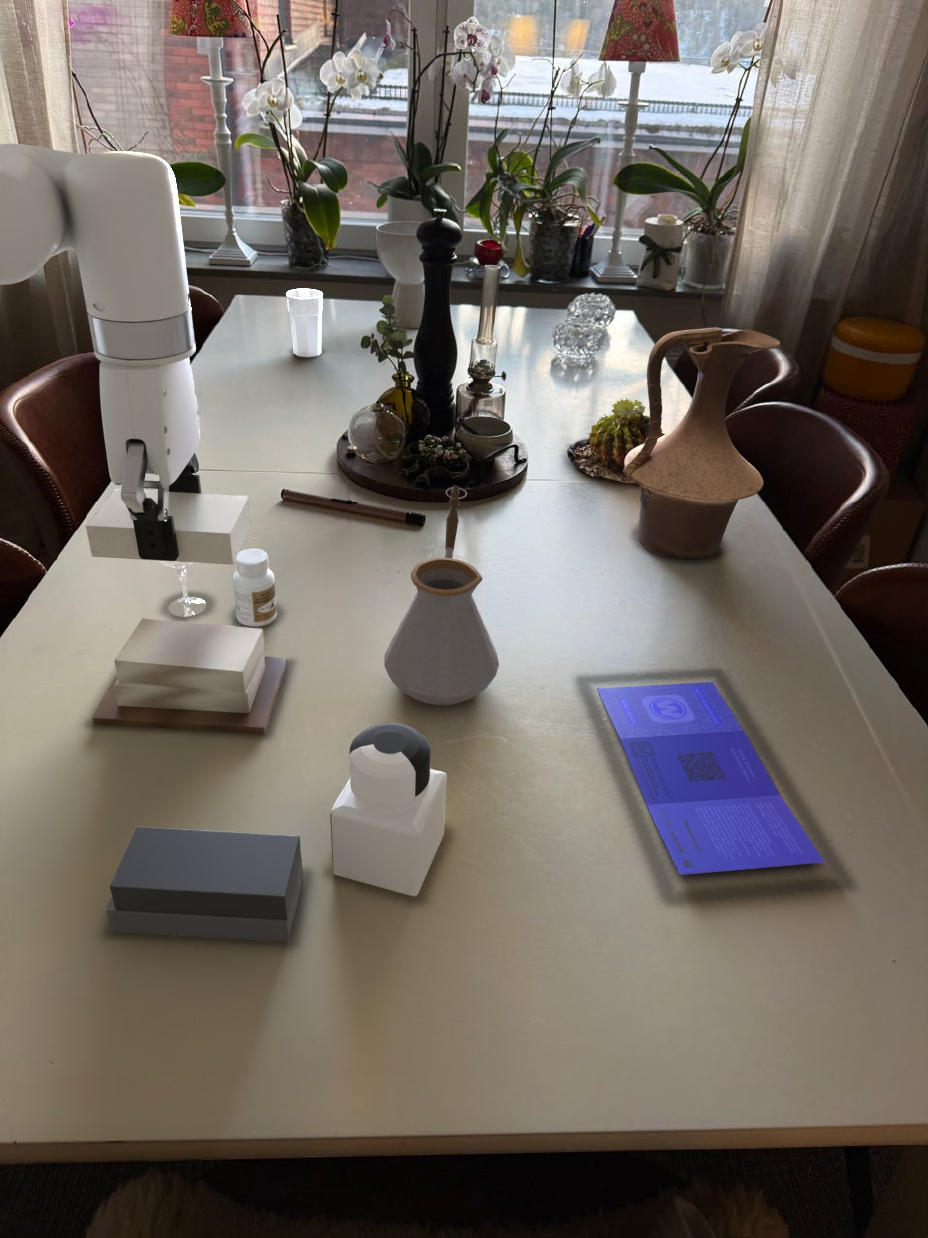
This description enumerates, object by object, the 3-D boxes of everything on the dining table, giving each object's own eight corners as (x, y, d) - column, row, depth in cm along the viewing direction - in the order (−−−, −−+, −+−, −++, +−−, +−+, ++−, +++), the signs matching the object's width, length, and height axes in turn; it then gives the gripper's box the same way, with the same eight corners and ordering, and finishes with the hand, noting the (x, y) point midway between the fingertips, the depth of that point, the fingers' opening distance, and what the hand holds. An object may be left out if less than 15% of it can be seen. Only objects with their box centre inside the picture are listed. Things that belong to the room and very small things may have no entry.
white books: (93, 726, 87) (82, 674, 84) (132, 656, 96) (123, 607, 93) (265, 736, 87) (260, 685, 84) (287, 665, 96) (283, 617, 93)
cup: (309, 360, 174) (306, 300, 168) (282, 353, 177) (278, 293, 171) (332, 352, 179) (330, 293, 173) (305, 344, 182) (302, 286, 176)
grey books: (111, 933, 68) (100, 887, 66) (138, 869, 73) (128, 824, 71) (288, 943, 68) (284, 898, 66) (303, 879, 73) (300, 834, 71)
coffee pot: (495, 723, 90) (506, 591, 82) (376, 714, 90) (375, 582, 82) (501, 604, 108) (510, 485, 100) (402, 597, 108) (403, 478, 100)
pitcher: (636, 580, 114) (675, 352, 98) (592, 515, 128) (620, 306, 112) (768, 570, 117) (826, 348, 102) (711, 508, 131) (755, 304, 115)
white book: (91, 556, 79) (85, 525, 77) (119, 518, 85) (114, 488, 83) (233, 564, 79) (229, 533, 77) (251, 525, 85) (248, 495, 83)
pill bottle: (265, 631, 101) (259, 570, 97) (229, 623, 102) (222, 561, 98) (284, 611, 105) (280, 550, 100) (249, 602, 106) (243, 542, 101)
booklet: (712, 682, 97) (713, 676, 97) (822, 868, 77) (825, 862, 76) (596, 688, 95) (597, 683, 95) (678, 881, 75) (679, 875, 74)
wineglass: (194, 627, 101) (181, 529, 95) (149, 615, 103) (133, 517, 96) (223, 600, 106) (212, 505, 99) (180, 589, 107) (166, 495, 101)
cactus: (549, 445, 147) (555, 384, 141) (640, 436, 151) (649, 378, 146) (595, 492, 133) (604, 428, 128) (693, 482, 138) (706, 419, 132)
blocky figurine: (365, 813, 80) (363, 703, 73) (445, 834, 78) (450, 723, 71) (331, 876, 74) (326, 762, 67) (417, 899, 72) (420, 786, 66)
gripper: (132, 299, 79) (160, 490, 89) (48, 367, 65) (94, 586, 75) (220, 304, 79) (239, 494, 89) (156, 373, 65) (188, 591, 74)
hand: (173, 534), depth 82 cm, fingers closed on white book, 7 cm apart
